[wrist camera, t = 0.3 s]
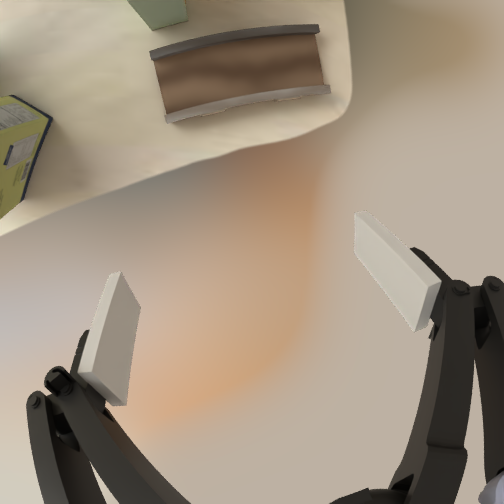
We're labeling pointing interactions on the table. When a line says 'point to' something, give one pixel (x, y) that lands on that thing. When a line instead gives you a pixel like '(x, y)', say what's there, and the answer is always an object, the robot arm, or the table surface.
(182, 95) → the facing shelf
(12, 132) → the protein box
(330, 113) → the table surface
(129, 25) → the table surface
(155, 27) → the cracker box
